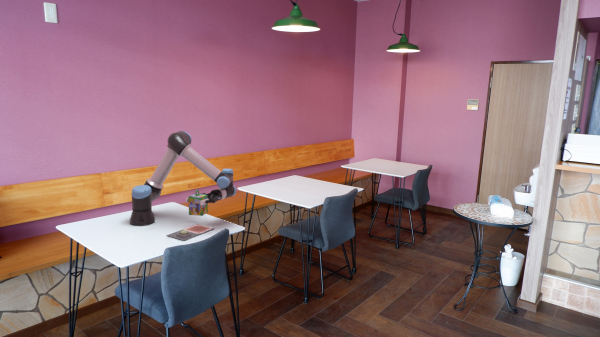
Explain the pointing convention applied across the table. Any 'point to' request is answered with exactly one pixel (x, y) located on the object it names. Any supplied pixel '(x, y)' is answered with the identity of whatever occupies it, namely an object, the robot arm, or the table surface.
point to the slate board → (191, 232)
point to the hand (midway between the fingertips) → (193, 201)
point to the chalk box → (197, 204)
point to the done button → (183, 232)
